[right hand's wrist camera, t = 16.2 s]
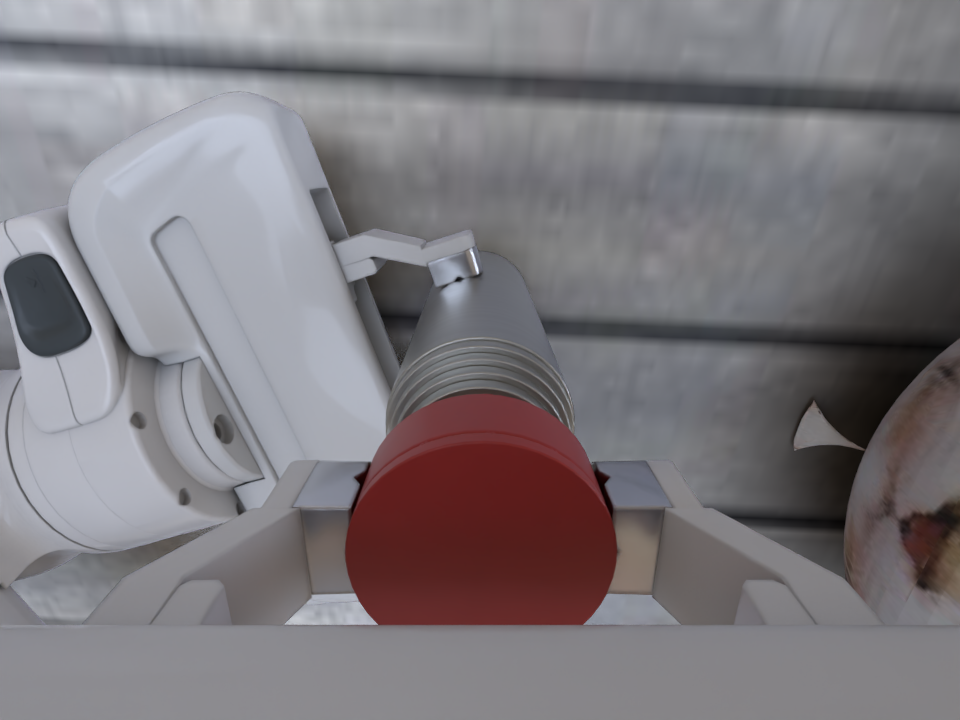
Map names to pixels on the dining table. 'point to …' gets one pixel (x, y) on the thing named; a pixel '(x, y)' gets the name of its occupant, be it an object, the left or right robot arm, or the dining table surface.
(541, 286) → the dining table surface
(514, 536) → the cap
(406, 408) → the bottle
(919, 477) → the plush toy
